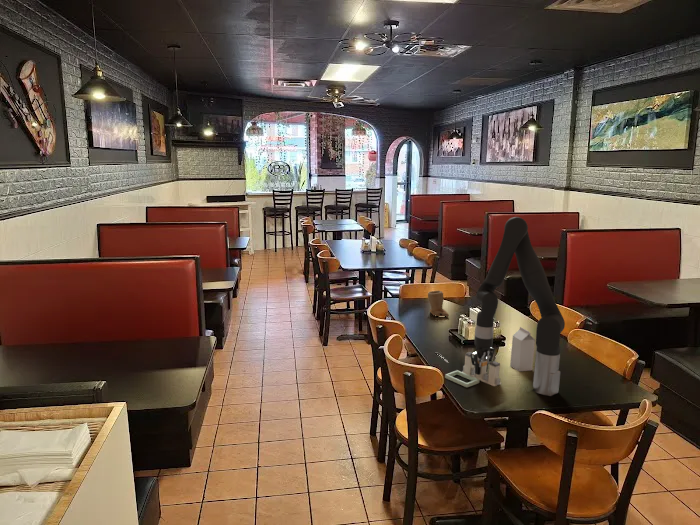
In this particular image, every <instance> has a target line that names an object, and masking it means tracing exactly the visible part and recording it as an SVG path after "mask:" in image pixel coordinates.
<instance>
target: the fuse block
mask: <svg viewBox="0 0 700 525" xmlns="http://www.w3.org/2000/svg"><path fill="white" fill-rule="evenodd" d="M471 353H473V352H471V351H468V352H465V355H464V356H465V357H464V358H465V359H464V365H462V372H463V373H465V374H468V375H470V376H472V377H475V378H476V373H475V366H474V365H472V361H471ZM500 367H501V363H500V362H499V361H495V360H493V361H491V362H489V364H488V372H486V374H483V379H482V380H481V379H479V378H477V379H479V382H480V381H481V382H483V383H485V384H487V385H491V386H492V387H497V386H500V385H502V383H503V382H501V378H499V377H500Z"/></svg>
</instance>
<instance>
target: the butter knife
mask: <svg viewBox="0 0 700 525" xmlns="http://www.w3.org/2000/svg"><path fill="white" fill-rule="evenodd" d="M437 355H438V354H437ZM437 355H436V356H437ZM440 355H441V354H440ZM440 355H439V356H440ZM439 356H438V357H439ZM442 356H443V355H441V356H440V357H441V359H442V358H443V359H444V358H445V357H444V356H443V357H442ZM440 357H439V358H440ZM443 359H442V360H443ZM443 361H445V362H446V363H447V364H448V363H449V362H448V359H446V358H445V359H444V360H443Z"/></svg>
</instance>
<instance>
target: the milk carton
mask: <svg viewBox="0 0 700 525" xmlns="http://www.w3.org/2000/svg"><path fill="white" fill-rule="evenodd" d="M531 334H532V333H531V332H530V331H529V330H527V329H525V328H523V327H521V326H519V329H518V330H517V331H516V332H515V333H514V334H513V335H512V338H511V339H512V340H511V341H512V342H511V349H510V350H511V351H510V352H511V353H510V364H509V366H510V367H511V368H513V369H514V370H516V371H518V372H528V371H533V366H534V364H533V363H534V353H535V345H536V338H534V337H533V336H532V335H531Z"/></svg>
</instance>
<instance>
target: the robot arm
mask: <svg viewBox="0 0 700 525" xmlns="http://www.w3.org/2000/svg"><path fill="white" fill-rule="evenodd" d="M528 229H529V227H528V223H527V221H526V220H525V219H523V218H522V217H519V216H514V217H510V218H509V219H508V220H507V221H506V222H505V224H504V230H503V235H502V238H501V239H502V241H501V243H500V245H499V248H498V250H497V253H496V255H495V257H494V259H493V261H492V263H491V265H490V267H489V270H488V272H487V275H486V277H485V279H484V280H483V281H482V283H481V284H480V285H479V287H478V289H477V291H476V295H475V297H476V301H477V303H479V305H481V309H480V311H478V312H477V314H476V315H477V316H476V323H475V324H476V325H475V331H474V346H475V350H474V352H472V353H471V361H472V365H474V368H475V373H476V374H477V375H480V371H481V367H480V366H481V363H482V362H483V359H484V358H487V369H486V373H488V371H489V365H490V362H493V361H492V360H493V358H494V354H495V351H496V350H495V348H493V342H494V320H495V314H496V312H497V308H498V304H499V298H498V295H497V294H496V293H495V290H496V289H497V288H499V287H501V286H502V285H503V283H504V281H505V278H506V276H507V274H508V270H509V269H510V266H511V262H512V259H513V257H514V256H515V258H516V262H517V267H518V270H519V274H520V276H521V279H522V282H523V284H524V286H525V289H526V291H527V292H528V294H530V296H531V297H532V298H533V300H534V302H535V303H536V305H537V307H538V311H539V312H540V317H541V318H539V320H538V322H537V325H536V333H535V345H536V351H535V360H534V362H535V363H534V370H533V372H534V373H533V380H532V381H533V383H532V387H533V389H532V390H533V392H534V393H537V394H540V395H543V396H548V397H553V396H554V395H556V394H558V393H559V388H560V379H561V370H559V368H560V360H561V350H562V348H561V346H560V341H561V340H560V339H561V333H562V332H563V331H564V329H565V327H566V326H565V325H566V323H565V318H564V317H563V315H562V312H561V311H560V308H559V307H558V305H557V303H556V300H555V298H554V295H553V291H552V289H551V286H550V283H549V280H548V277H547V274H546V272H545V269H544V266H543V264H542V262H541V261H540V259H539V256H538V254H537V253H536V252H535V250H534V247H533V245H532V242H531V238H530V235H529V230H528ZM514 254H515V255H514ZM478 358H480V359H478ZM478 361H479V364H478Z"/></svg>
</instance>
